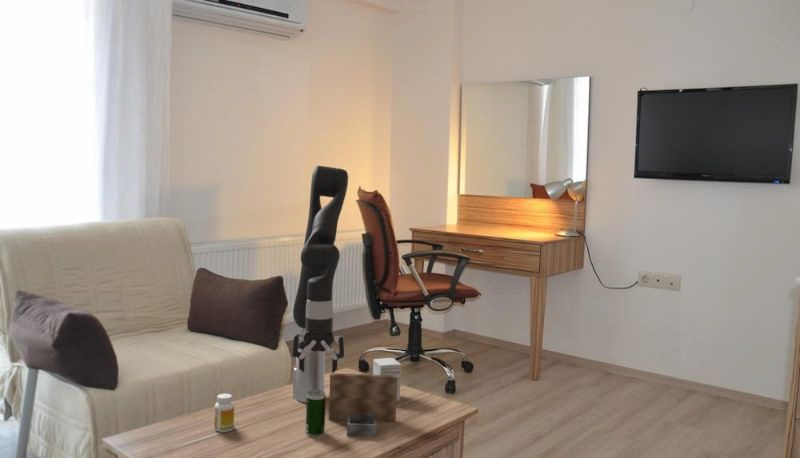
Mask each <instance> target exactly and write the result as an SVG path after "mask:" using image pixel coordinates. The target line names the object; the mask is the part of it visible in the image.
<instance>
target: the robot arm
mask: <svg viewBox="0 0 800 458" xmlns="http://www.w3.org/2000/svg"><path fill="white" fill-rule="evenodd" d="M312 171H313V172H312V176H311V183H310V196H309V197H310V199H309V208H308V209H309V211H308V219H307V225H306V231H305V237H304V243H303V248H302V249H301V252H300V262H301V267H300V269H301V270H300V275H299V282H298V283H299V284H298V288H297V291H296V296H295V300H294V304H293V308H292V309H293V310H292V316H293V320H294V322H295V324H296V325H297V326H298V327H299V328H302V330H301V332H300V334H298V333H296V334H295V335H294V336H293V348H292V357H293V358H295V359H296V361H295V365H296V366H295V367H294V368H293V372H292V373H293V377H292V379H293V380H292V381H293V382H292V397H293V398H295V400H296V401H298V402H301V403H306V400H307V393H308V391H311V390H322V391H324V392H325V375H326V374H325V372H326V371H325V369H326V368H325V367H326V366H325V365H326V352H327V353H328V354H329V355H330V356H331V358H332V361H331V373H335V372H336V371H337V370H338V360H339V359H342V358H344V357H345V342H344V340H345V339H344V334H340V335H335V336H334V334H333V328H334V327H333V323H334V319H333V318H334V304H333V287H334V286H333V285H334V284H333V283H334V280H335V274H336V271H337V267H338V265H339V261H340V257H341V256H340V249H339V248H338V247H337V246H336V245H335V241H336V237H337V231H338V223H339V218H340V216H341V213H342V209H343V207H344V202H345V198H346V195H347V190H348V184H349V174H348V171H347V170H346V169H343V168H339V167H333V166H332V167H330V166H323V165H316V166H315V167H314V169H313V170H312ZM321 197H327V198H332V199H331V200H330V201H329V202H328V203H327V204H326V205H324V206H323V207H322V203H321ZM334 341H335V342H336V344H337V345H338V347H339V348H338V349H339V352H336V350H335V349H334V347H333V346H332V344H333V342H334Z"/></svg>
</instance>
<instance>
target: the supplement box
mask: <svg viewBox="0 0 800 458" xmlns="http://www.w3.org/2000/svg"><path fill="white" fill-rule="evenodd" d="M372 361H373V362H372V363H373V364H372V375H397V377H398V378H397V401H396V402H400V400H401V376H402V364H401V363H400V362H399V361H398V360H396V359H395V358H394V357H385V358H374V359H373V360H372Z"/></svg>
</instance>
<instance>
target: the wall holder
mask: <svg viewBox="0 0 800 458" xmlns="http://www.w3.org/2000/svg"><path fill="white" fill-rule="evenodd" d="M329 374H330V375H329V397H328V398H329V399H328V400H329V402H328V403H329V404H328V405H329V406H328V421H331V422H334V421H336V422H340V421H341V422H346V437H353V438H354V437H358V438H359V437H361V438H376V437H377V435H376V434H377V432H376V431H377V423H396V421H397V420H396V419H397V402H398V401H397V378H398V377H397V375H373V374H367V373H366V374H361V373H360V374H359V373H332V372H330V373H329Z"/></svg>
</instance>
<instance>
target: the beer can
mask: <svg viewBox="0 0 800 458" xmlns="http://www.w3.org/2000/svg"><path fill="white" fill-rule="evenodd" d="M305 403H306V407H305V408H306V410H305V434H306V435H307V436H308V437H312V438H318V437H322V436H323V435H324V433H325V430H326V429H325V428H326V427H325V424H326V421H325V420H326V393H325V390H324V391H322V390H311V391H308V393H307V400H306V402H305Z"/></svg>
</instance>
